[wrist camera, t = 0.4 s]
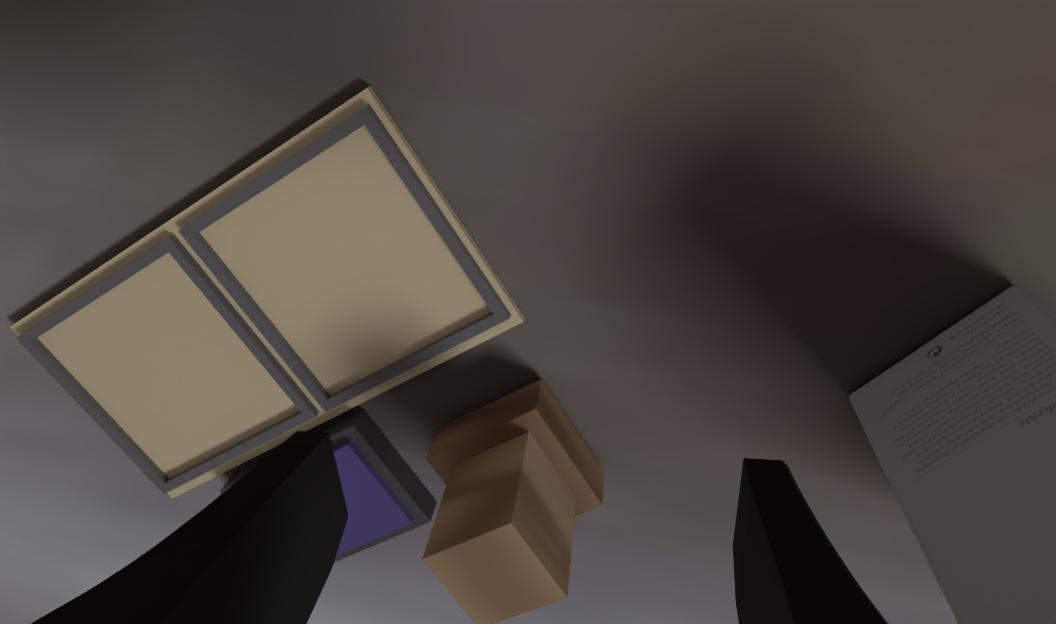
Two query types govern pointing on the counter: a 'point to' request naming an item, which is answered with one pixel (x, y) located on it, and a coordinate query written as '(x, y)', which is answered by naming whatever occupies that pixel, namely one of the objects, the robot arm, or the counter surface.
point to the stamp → (510, 503)
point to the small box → (977, 457)
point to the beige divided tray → (273, 303)
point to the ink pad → (370, 485)
